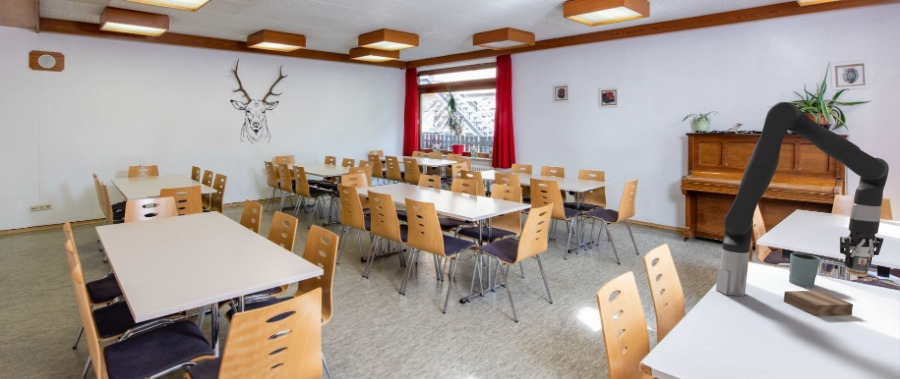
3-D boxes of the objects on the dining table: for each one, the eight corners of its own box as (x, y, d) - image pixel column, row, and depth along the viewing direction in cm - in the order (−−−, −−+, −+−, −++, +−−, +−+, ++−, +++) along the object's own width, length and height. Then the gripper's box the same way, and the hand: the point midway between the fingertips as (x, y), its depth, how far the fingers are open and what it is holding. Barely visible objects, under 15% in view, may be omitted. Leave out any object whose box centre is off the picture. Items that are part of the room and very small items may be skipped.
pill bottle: (871, 277, 159) (876, 248, 157) (851, 276, 160) (856, 247, 159) (860, 272, 164) (865, 244, 163) (841, 271, 166) (845, 243, 164)
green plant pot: (790, 278, 210) (793, 251, 208) (818, 283, 203) (822, 256, 201) (784, 283, 203) (788, 255, 201) (814, 289, 196) (818, 260, 194)
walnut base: (815, 316, 168) (816, 305, 167) (783, 301, 181) (784, 291, 181) (851, 315, 169) (853, 304, 169) (817, 300, 183) (818, 290, 182)
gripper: (873, 215, 164) (865, 263, 166) (835, 215, 162) (827, 263, 165) (895, 220, 157) (887, 270, 159) (855, 220, 155) (848, 270, 157)
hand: (857, 266), depth 162 cm, fingers closed on pill bottle, 5 cm apart
